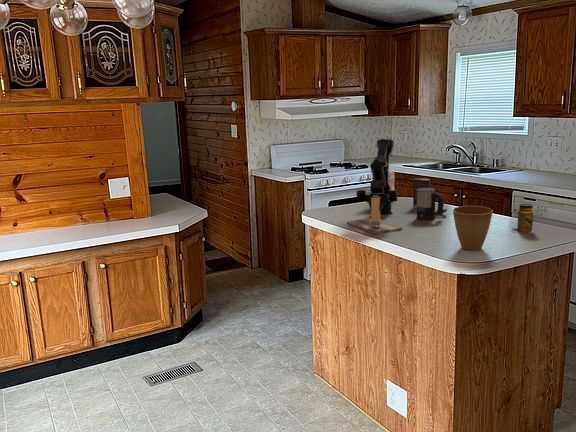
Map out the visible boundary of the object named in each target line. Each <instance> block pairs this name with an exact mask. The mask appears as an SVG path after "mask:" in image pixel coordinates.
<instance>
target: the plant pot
mask: <svg viewBox="0 0 576 432" xmlns="http://www.w3.org/2000/svg"><path fill="white" fill-rule="evenodd" d="M493 211H494V210H493V209H491V207H486V206H480V205H463V206H457V207H454V208H452V214H453V220H454V226H455V230H456V234H457V238H458V240H459V243H460V246H461V248H463V249H462V250H464V249H466V250H465V251H469V250H477V251H480V250H481V249H482V248H483V246H484V243H485V241H486V238H487V235H488V232H489V229H490V226H491V221H492V218H493V216H492V215H493ZM479 249H480V250H479Z"/></svg>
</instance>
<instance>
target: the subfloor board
mask: <svg viewBox="0 0 576 432" xmlns="http://www.w3.org/2000/svg"><path fill="white" fill-rule="evenodd" d="M371 221H372V218H371V217H366V218H363V219H353V220H348V221H347V222H346V224H348V225H350V226H353V227H354V228H357V229H360V230H363V231H366V232H368V233H371V234H373V235H378V234H379V235H380V234H384V233H385V234H386V233H392V232H397V230H398V231H403V227H402V226H398V225H395V224H393V223H389V222H386V221H385V220H381V224H380V226H371Z"/></svg>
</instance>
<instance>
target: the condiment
mask: <svg viewBox="0 0 576 432" xmlns="http://www.w3.org/2000/svg"><path fill="white" fill-rule="evenodd" d="M517 214H518V215H517V227H516V228H515V227H512V228H511V231H512V233H516V234H517V233H518V234H519V233H521V234H534V231H533V223H534V219H533V218H534V211H533V204H530V203H521V204H520V205H519V209H518V213H517Z"/></svg>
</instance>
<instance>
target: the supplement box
mask: <svg viewBox="0 0 576 432" xmlns="http://www.w3.org/2000/svg"><path fill="white" fill-rule="evenodd" d="M412 185H413V186H412V187H413V188H412V196H413V197H412V198H413V199H412V202H413V204H412V207H413V209H417V190H416V189H419V188H431V178H414V179H413V180H412Z"/></svg>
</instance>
